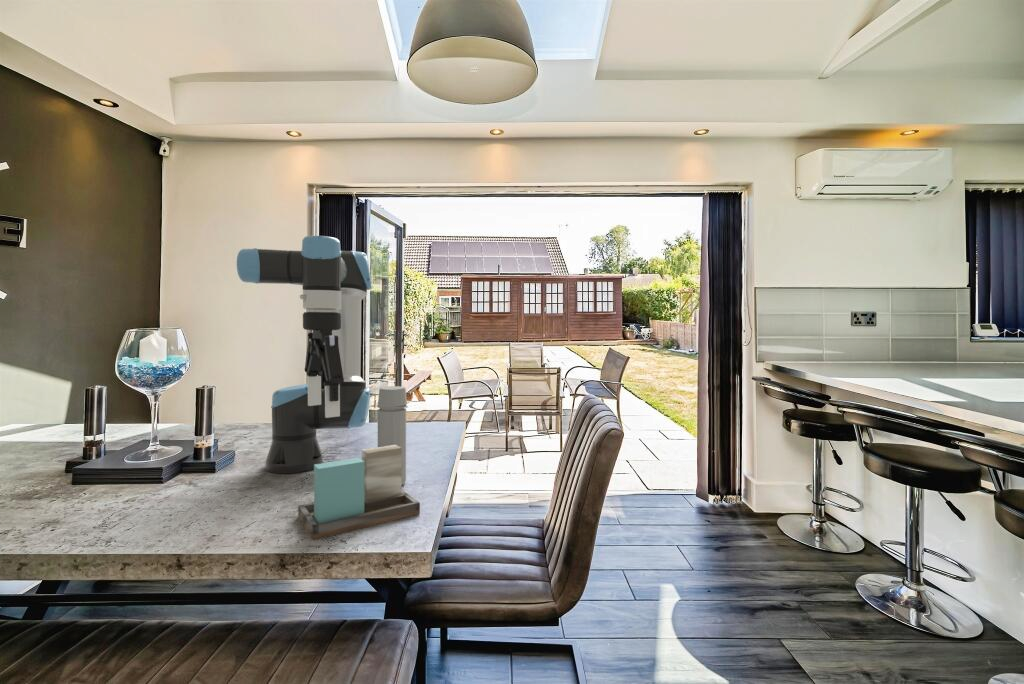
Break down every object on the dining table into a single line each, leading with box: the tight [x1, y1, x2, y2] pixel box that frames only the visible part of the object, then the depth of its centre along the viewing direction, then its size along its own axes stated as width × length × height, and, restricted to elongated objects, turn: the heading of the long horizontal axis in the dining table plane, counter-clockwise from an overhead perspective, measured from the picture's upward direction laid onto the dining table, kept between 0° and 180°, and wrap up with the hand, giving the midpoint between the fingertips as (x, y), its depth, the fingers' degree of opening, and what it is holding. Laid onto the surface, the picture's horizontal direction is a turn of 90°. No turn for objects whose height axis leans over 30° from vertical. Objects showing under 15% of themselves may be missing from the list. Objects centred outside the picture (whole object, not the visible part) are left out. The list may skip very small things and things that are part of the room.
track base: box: [297, 445, 421, 541], centre depth 101 cm, size 13×22×13 cm, turn 126°
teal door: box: [313, 457, 364, 524], centre depth 96 cm, size 4×9×12 cm, turn 125°
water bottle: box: [376, 385, 409, 486], centre depth 122 cm, size 9×8×25 cm
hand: (323, 410), depth 101 cm, fingers open, 13 cm apart
